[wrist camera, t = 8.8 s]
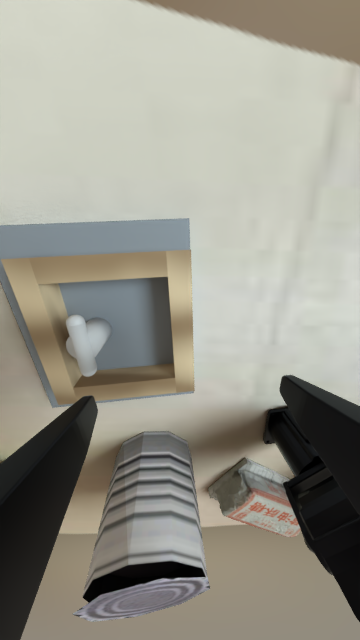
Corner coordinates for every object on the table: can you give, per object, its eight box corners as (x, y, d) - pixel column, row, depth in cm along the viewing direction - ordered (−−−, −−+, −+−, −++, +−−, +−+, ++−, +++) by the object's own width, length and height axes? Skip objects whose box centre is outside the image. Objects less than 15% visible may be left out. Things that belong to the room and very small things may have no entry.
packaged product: (212, 526, 26) (259, 491, 23) (205, 485, 30) (244, 453, 28) (285, 548, 30) (330, 521, 28) (269, 510, 35) (307, 484, 33)
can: (183, 421, 24) (201, 570, 12) (197, 470, 28) (220, 615, 16) (103, 440, 24) (48, 607, 12) (129, 486, 28) (105, 643, 16)
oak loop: (190, 375, 19) (194, 391, 17) (71, 386, 18) (58, 405, 16) (186, 250, 15) (191, 249, 12) (27, 258, 14) (0, 259, 11)
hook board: (191, 384, 21) (200, 425, 16) (60, 397, 20) (24, 445, 15) (186, 222, 15) (198, 203, 10) (-4, 229, 14) (-104, 212, 9)
